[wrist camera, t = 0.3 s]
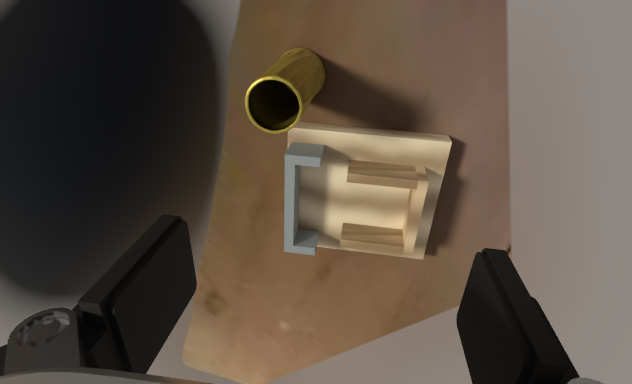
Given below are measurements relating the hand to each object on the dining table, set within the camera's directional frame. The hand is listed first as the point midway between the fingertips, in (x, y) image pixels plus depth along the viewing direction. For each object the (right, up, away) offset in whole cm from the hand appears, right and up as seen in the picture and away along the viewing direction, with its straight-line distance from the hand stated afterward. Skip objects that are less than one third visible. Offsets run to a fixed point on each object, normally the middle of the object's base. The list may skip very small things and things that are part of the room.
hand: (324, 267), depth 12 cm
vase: (-2, +17, +33) cm, 37 cm away
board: (+6, +3, +39) cm, 39 cm away
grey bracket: (-2, +2, +37) cm, 37 cm away
